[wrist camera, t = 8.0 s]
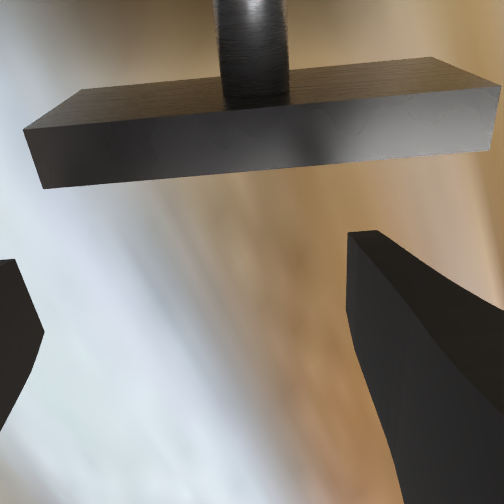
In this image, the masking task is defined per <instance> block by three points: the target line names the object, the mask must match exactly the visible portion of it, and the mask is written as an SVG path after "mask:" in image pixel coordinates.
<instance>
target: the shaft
mask: <svg viewBox="0 0 504 504" xmlns="http://www.w3.org/2000/svg"><path fill="white" fill-rule="evenodd" d="M212 5H213V14H214V23H215V31H216V40H217V49H218V58H219V66H220V75H221V77H210V78H200V79H189V80H178V81H168V82H157V83H146V84H136V85H125V86H114V87H103V88H93V89H82V90H80V91H79V92H77V93H76V94H74V95H73V96H71V97H70V98H68V99H67V100H65V101H64V102H62V103H61V104H60V105H58V106H57V107H55V108H54V109H52V110H51V111H49V112H48V113H46V114H45V115H43V116H42V117H40V118H39V119H37V120H36V121H35V122H33V123H32V124H30V125H29V126H27V127H26V128H24V129H23V132H24V135H25V138H26V141H27V143H28V146H29V149H30V152H31V155H32V158H33V161H34V164H35V167H36V170H37V173H38V176H39V179H40V181H41V184H42V187H43V189H51V188H62V187H74V186H85V185H97V184H108V183H120V182H131V181H143V180H154V179H166V178H177V177H189V176H200V175H212V174H223V173H235V172H246V171H258V170H269V169H281V168H292V167H304V166H315V165H327V164H338V163H350V162H362V161H373V160H385V159H396V158H408V157H419V156H431V155H442V154H454V153H465V152H477V151H488V150H490V145H491V139H492V134H493V128H494V123H495V117H496V112H497V106H498V101H499V95H500V90H501V86H500V85H498V84H495V83H493V82H491V81H488V80H486V79H483V78H481V77H479V76H476V75H474V74H471V73H469V72H467V71H464V70H462V69H459V68H457V67H455V66H452V65H450V64H447V63H445V62H443V61H440V60H438V59H436V58H433V57H424V58H414V59H403V60H392V61H381V62H371V63H360V64H349V65H339V66H328V67H317V68H307V69H296V70H289V53H288V30H287V6H286V0H212Z"/></svg>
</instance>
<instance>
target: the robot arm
mask: <svg viewBox="0 0 504 504" xmlns="http://www.w3.org/2000/svg"><path fill="white" fill-rule="evenodd" d="M346 312H347V317H348V322H349V327H350V332H351V336H352V340H353V345H354V349H355V352H356V355H357V358H358V361H359V364H360V366H361V369H362V372H363V375H364V378H365V380H366V383H367V386H368V389H369V392H370V394H371V397H372V400H373V403H374V405H375V408H376V411H377V414H378V417H379V419H380V422H381V425H382V428H383V430H384V433H385V436H386V439H387V442H388V445H389V448H390V451H391V454H392V458H393V461H394V464H395V468H396V472H397V476H398V480H399V484H400V488H401V492H402V496H403V500H404V504H504V311H503V310H501V309H499V308H497V307H496V306H494V305H492V304H490V303H488V302H486V301H484V300H483V299H481V298H479V297H478V296H476V295H474V294H472V293H471V292H469V291H467V290H466V289H464V288H462V287H461V286H459V285H457V284H456V283H454V282H452V281H451V280H449V279H448V278H446V277H444V276H443V275H441V274H440V273H438V272H437V271H435V270H434V269H432V268H431V267H429V266H428V265H426V264H425V263H423V262H422V261H421V260H419V259H418V258H416V257H415V256H413V255H412V254H411V253H409V252H408V251H406V250H405V249H404V248H402V247H401V246H399V245H398V244H397V243H395V242H394V241H392V240H391V239H390V238H388V237H387V236H385V235H384V234H382V233H381V232H379V231H377V230H372V231H359V232H348V240H347V285H346ZM43 335H44V329H43V327H42V324H41V322H40V319H39V317H38V314H37V312H36V310H35V307H34V305H33V302H32V300H31V297H30V295H29V292H28V290H27V287H26V285H25V283H24V280H23V278H22V275H21V273H20V270H19V268H18V265H17V263H16V261H15V259H7V260H0V431H1V429H2V427H3V425H4V424H5V422H6V420H7V418H8V416H9V414H10V412H11V410H12V408H13V406H14V405H15V403H16V401H17V399H18V397H19V395H20V393H21V391H22V389H23V387H24V385H25V383H26V381H27V379H28V377H29V375H30V373H31V371H32V368H33V365H34V362H35V360H36V357H37V354H38V351H39V348H40V345H41V342H42V338H43Z"/></svg>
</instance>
